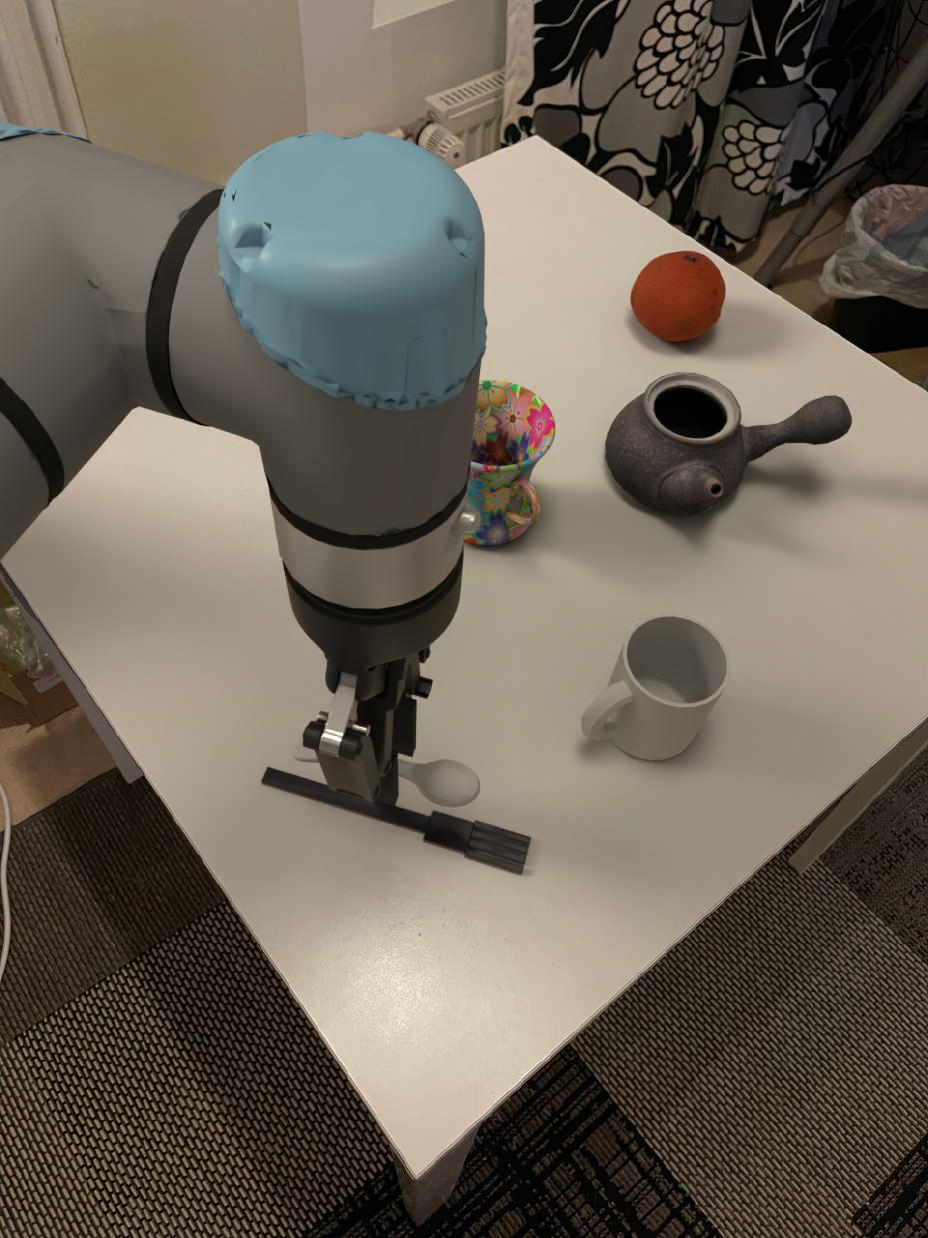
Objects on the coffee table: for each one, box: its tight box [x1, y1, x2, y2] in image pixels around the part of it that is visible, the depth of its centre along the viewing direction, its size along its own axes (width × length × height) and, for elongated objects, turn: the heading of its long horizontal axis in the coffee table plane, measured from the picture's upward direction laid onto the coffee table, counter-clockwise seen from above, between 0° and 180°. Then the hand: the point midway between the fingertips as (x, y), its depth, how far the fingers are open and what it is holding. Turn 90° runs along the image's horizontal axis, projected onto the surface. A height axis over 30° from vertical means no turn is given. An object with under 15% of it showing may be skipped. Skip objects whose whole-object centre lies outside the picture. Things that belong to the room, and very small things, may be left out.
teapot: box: [604, 372, 853, 516], centre depth 77 cm, size 19×15×10 cm
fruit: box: [629, 250, 727, 342], centre depth 89 cm, size 9×9×8 cm
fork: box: [260, 766, 532, 876], centre depth 63 cm, size 19×3×1 cm, turn 73°
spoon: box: [292, 732, 481, 808], centre depth 57 cm, size 3×12×2 cm, turn 75°
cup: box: [580, 612, 732, 761], centre depth 64 cm, size 7×10×9 cm
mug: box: [463, 379, 556, 546], centre depth 73 cm, size 12×9×11 cm
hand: (385, 769), depth 57 cm, fingers closed on spoon, 3 cm apart
